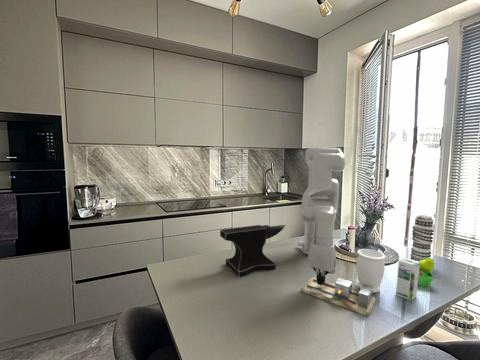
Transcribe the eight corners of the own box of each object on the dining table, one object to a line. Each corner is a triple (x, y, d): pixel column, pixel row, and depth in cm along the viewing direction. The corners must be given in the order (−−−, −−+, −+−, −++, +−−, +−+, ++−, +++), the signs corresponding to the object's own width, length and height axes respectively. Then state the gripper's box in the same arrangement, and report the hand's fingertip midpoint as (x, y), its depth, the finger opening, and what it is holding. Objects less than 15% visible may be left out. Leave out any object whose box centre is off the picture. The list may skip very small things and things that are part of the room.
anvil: (228, 280, 109) (229, 236, 107) (216, 266, 122) (216, 227, 120) (293, 265, 125) (294, 227, 123) (275, 254, 138) (277, 220, 136)
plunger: (331, 299, 94) (332, 286, 93) (338, 289, 101) (339, 277, 100) (345, 304, 91) (346, 291, 90) (351, 294, 98) (352, 281, 97)
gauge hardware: (306, 287, 102) (307, 275, 102) (313, 279, 108) (314, 268, 108) (367, 309, 89) (368, 295, 88) (371, 299, 95) (372, 286, 94)
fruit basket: (404, 274, 119) (407, 251, 118) (427, 277, 116) (429, 254, 115) (412, 285, 108) (414, 260, 107) (437, 289, 105) (440, 264, 104)
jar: (381, 297, 98) (385, 260, 97) (353, 289, 104) (355, 254, 102) (383, 285, 107) (386, 251, 106) (356, 278, 113) (359, 246, 111)
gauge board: (300, 291, 102) (300, 287, 101) (312, 279, 111) (312, 276, 111) (368, 316, 87) (369, 312, 86) (375, 300, 96) (375, 296, 96)
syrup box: (394, 294, 101) (398, 259, 99) (400, 290, 104) (404, 256, 103) (411, 301, 96) (414, 265, 95) (417, 296, 100) (420, 261, 98)
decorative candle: (407, 263, 131) (412, 216, 128) (410, 257, 138) (414, 213, 135) (429, 268, 125) (435, 219, 122) (431, 262, 132) (436, 216, 129)
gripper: (301, 238, 102) (299, 281, 104) (339, 247, 93) (336, 294, 95) (308, 234, 108) (306, 274, 110) (345, 242, 99) (342, 286, 101)
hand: (320, 283), depth 103 cm, fingers closed
